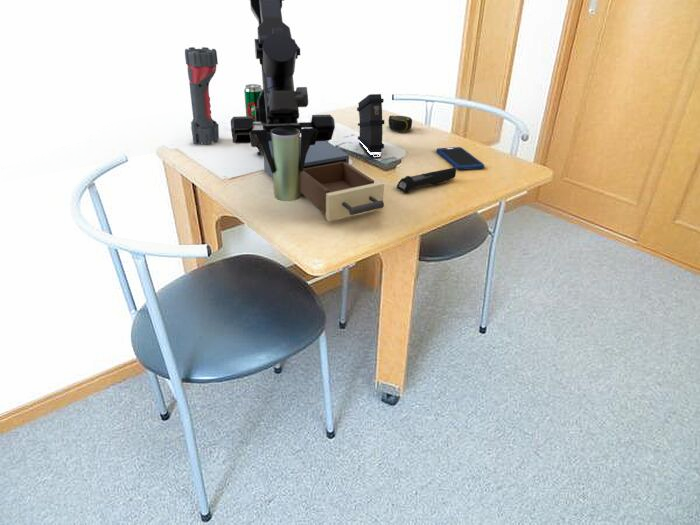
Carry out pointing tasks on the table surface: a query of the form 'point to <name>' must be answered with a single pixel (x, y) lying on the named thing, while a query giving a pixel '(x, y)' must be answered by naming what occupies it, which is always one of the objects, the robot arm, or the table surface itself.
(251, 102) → the soda can
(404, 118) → the tape measure
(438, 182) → the electric trimmer
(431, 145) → the table surface
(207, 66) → the flashlight
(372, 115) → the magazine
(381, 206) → the drawer
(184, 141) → the table surface
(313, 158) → the cabinet
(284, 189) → the tea tin
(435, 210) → the table surface
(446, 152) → the cell phone
